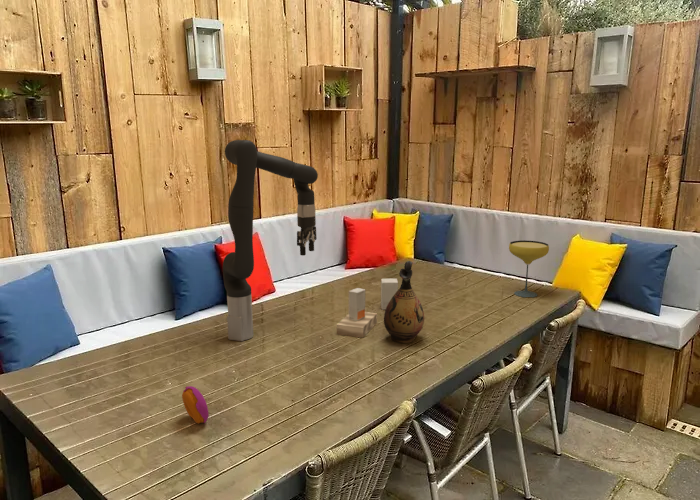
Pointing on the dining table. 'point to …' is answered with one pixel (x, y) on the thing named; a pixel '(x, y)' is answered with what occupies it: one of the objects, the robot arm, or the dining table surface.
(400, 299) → the ceramic jug
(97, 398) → the dining table surface
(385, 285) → the supplement box
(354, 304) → the skincare box
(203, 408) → the donut
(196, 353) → the dining table surface
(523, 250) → the cocktail glass
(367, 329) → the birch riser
